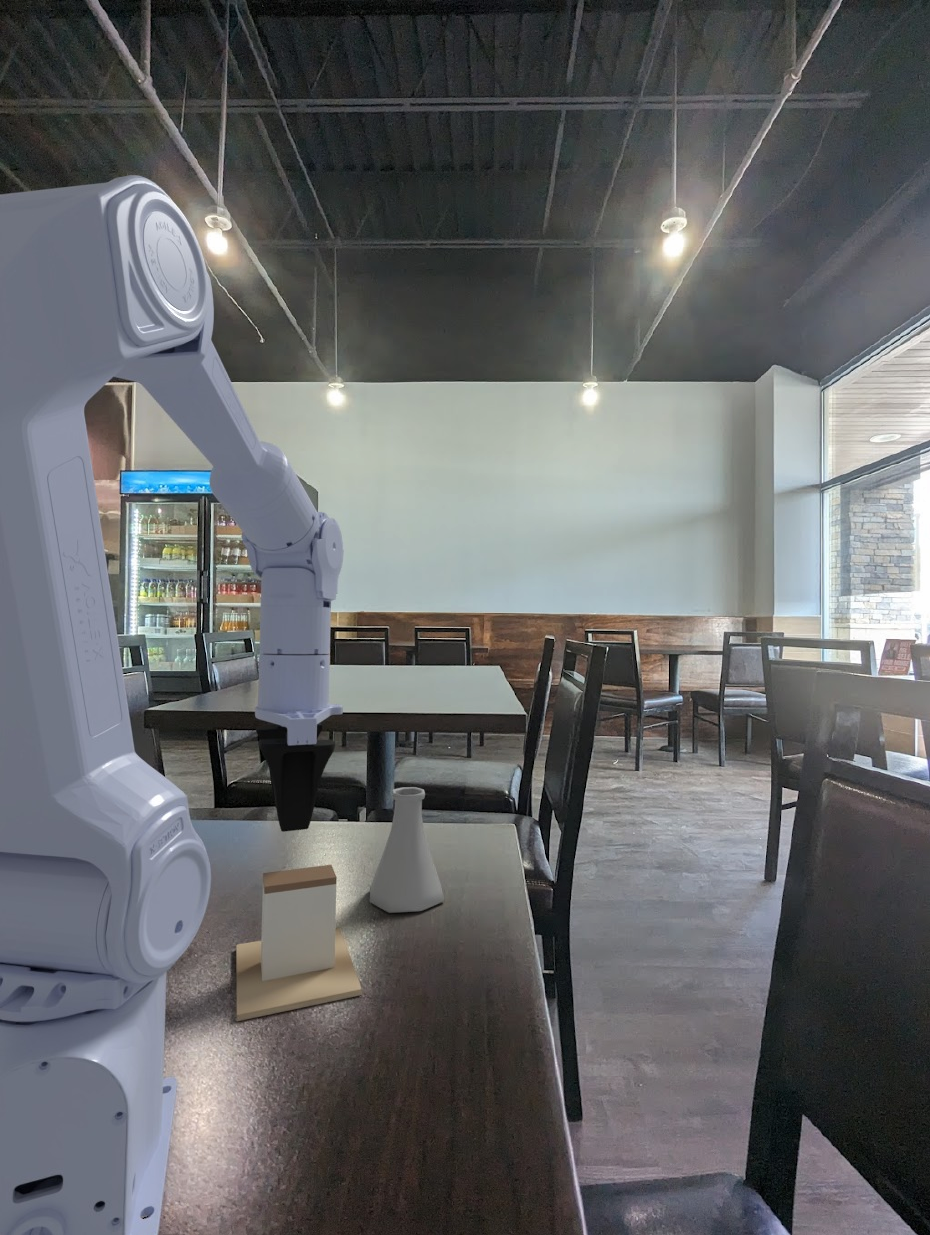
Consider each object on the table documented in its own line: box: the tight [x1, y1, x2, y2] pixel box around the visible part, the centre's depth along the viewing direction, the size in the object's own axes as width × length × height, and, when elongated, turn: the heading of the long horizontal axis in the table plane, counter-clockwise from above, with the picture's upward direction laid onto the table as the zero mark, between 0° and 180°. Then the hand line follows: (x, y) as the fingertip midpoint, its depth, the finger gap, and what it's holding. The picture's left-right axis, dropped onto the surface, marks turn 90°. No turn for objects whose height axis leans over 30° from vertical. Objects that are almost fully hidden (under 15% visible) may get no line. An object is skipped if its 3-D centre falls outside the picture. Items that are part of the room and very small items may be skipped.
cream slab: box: [260, 864, 337, 981], centre depth 43 cm, size 2×5×6 cm, turn 111°
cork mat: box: [235, 927, 363, 1022], centre depth 43 cm, size 9×8×1 cm
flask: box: [369, 786, 445, 914], centre depth 55 cm, size 7×7×10 cm
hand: (291, 817), depth 49 cm, fingers open, 6 cm apart
